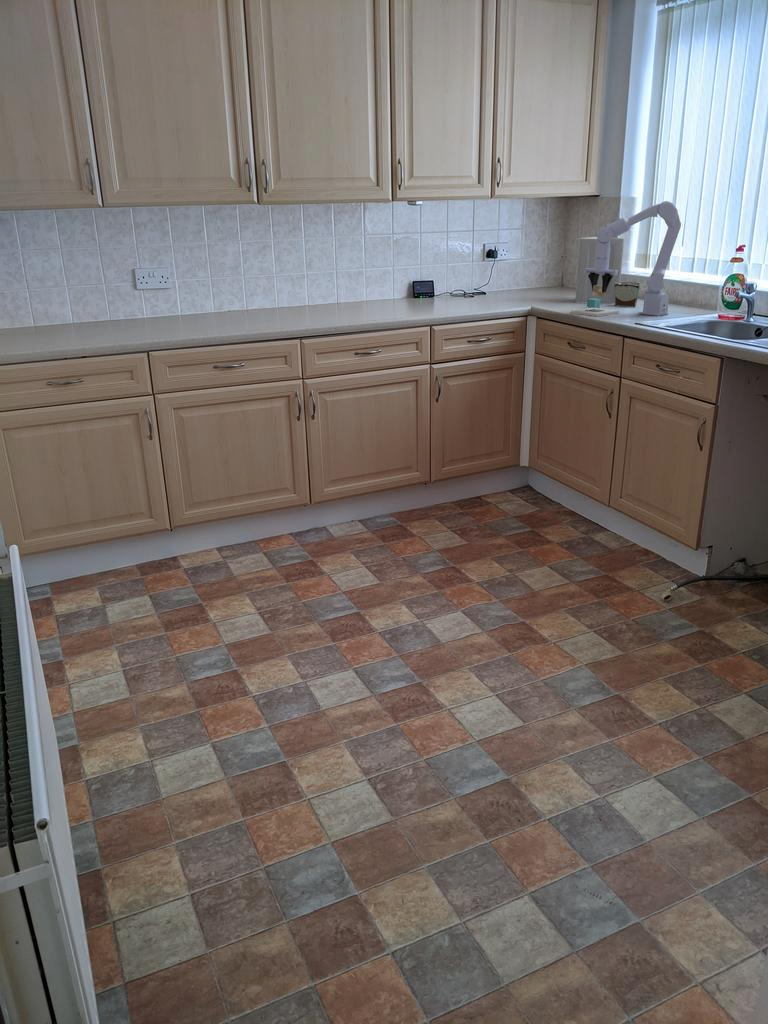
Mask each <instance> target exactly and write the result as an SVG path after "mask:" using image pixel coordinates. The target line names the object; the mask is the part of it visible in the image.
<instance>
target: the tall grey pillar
mask: <svg viewBox="0 0 768 1024" xmlns="http://www.w3.org/2000/svg"><path fill="white" fill-rule="evenodd" d="M597 240H598V239H597V236H589V237H580V238H579V249H578V262H577V274H576V287H575V299H574V300H575V301H576V302H587V299H591V298H595V299H601V300H600V304H615V287H614V284H615V282H622V280H621V278H622V268H623V257H624V248H625V247H624V246H625V238H623V237H615V238H613V237H612V238H611V240H610V256H609V267H608V269H611V270H618V275H613V278H612V279H611V281H610V283H609V285H608V287H607V290H606V296H593V291H592V285H591V281H590V279H589V277H588V275H590V273H585V268H594V266H595V254H596V246H597ZM599 273H604V272H599ZM602 275H605V274H600V275H599V278H598V283H597V285H602ZM575 301H574V302H575ZM576 302H575V303H576Z"/></svg>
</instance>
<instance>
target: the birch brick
mask: <svg viewBox="0 0 768 1024" xmlns="http://www.w3.org/2000/svg"><path fill="white" fill-rule="evenodd" d="M593 296H606V292H604V293H602V285H595V286H593Z"/></svg>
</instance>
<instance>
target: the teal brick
mask: <svg viewBox="0 0 768 1024" xmlns="http://www.w3.org/2000/svg"><path fill="white" fill-rule="evenodd" d="M600 300H601V299H595V298H591V299H587V303H586V308H587V307H588V308H599V309H601V303H600Z"/></svg>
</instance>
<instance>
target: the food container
mask: <svg viewBox="0 0 768 1024" xmlns="http://www.w3.org/2000/svg"><path fill="white" fill-rule="evenodd" d="M614 287H615V303H614V306H615V305H619V306H618V307H626V306H633V307H632V308H636V307H635V306H637V302H638V298H639V292H640V290H641V288H642V287H641V283H640V282H636V281H620V282H615V284H614Z"/></svg>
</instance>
